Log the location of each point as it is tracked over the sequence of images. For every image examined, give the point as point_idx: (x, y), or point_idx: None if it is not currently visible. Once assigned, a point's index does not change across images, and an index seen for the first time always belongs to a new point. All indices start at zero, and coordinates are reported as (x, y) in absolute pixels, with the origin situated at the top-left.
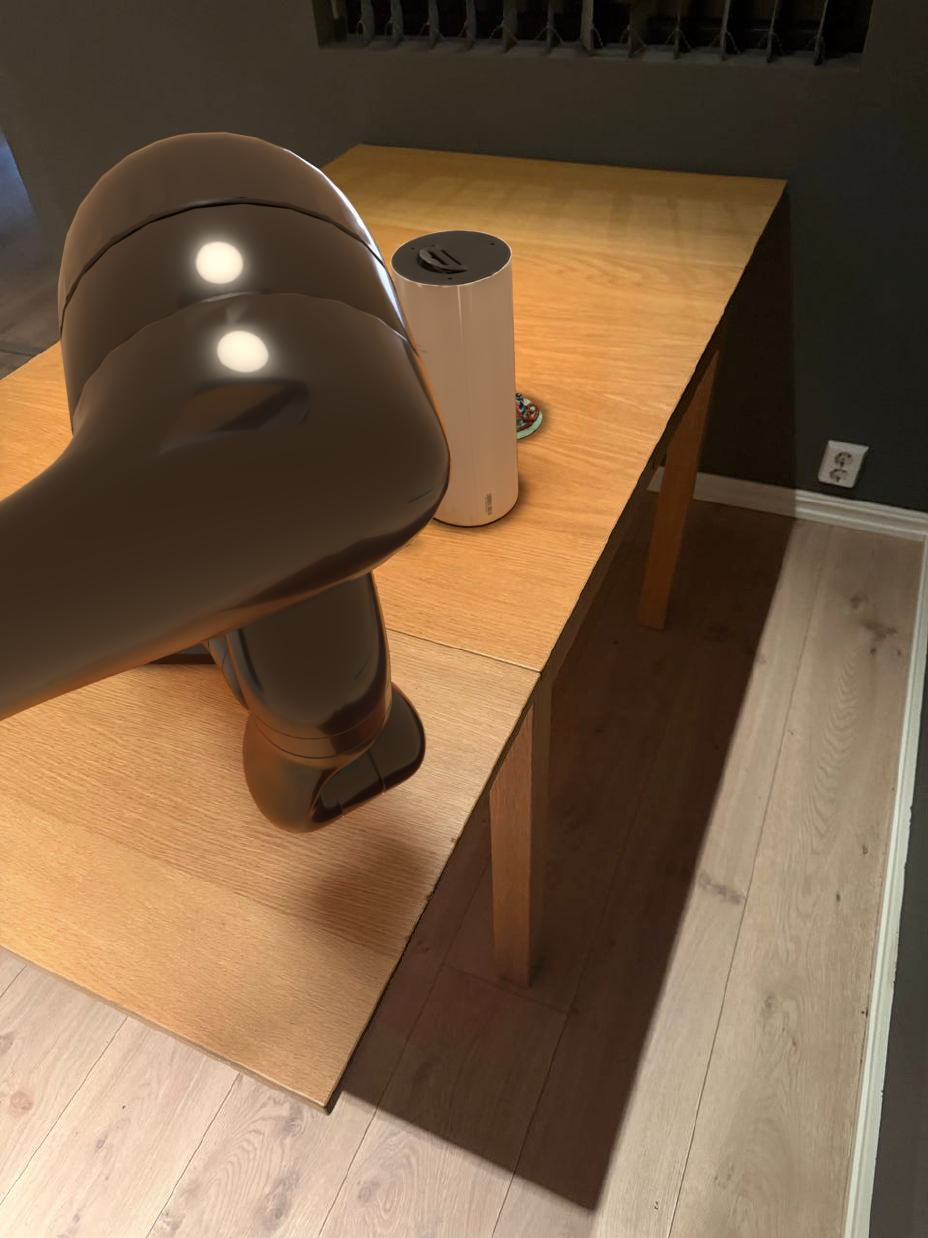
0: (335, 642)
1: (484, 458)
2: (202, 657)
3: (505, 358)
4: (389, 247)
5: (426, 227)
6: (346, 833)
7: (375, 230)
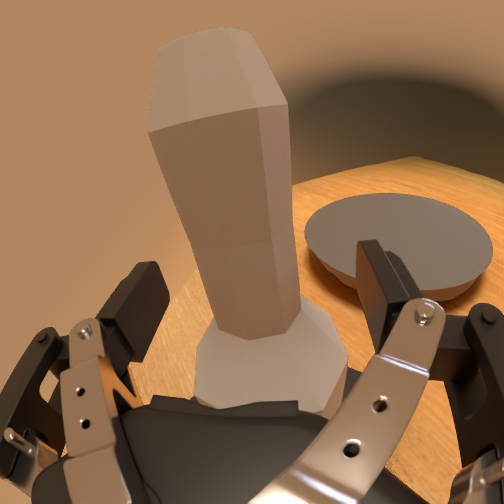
0: None
1: None
2: None
3: None
4: (452, 179)
5: (467, 177)
6: None
7: (444, 172)
